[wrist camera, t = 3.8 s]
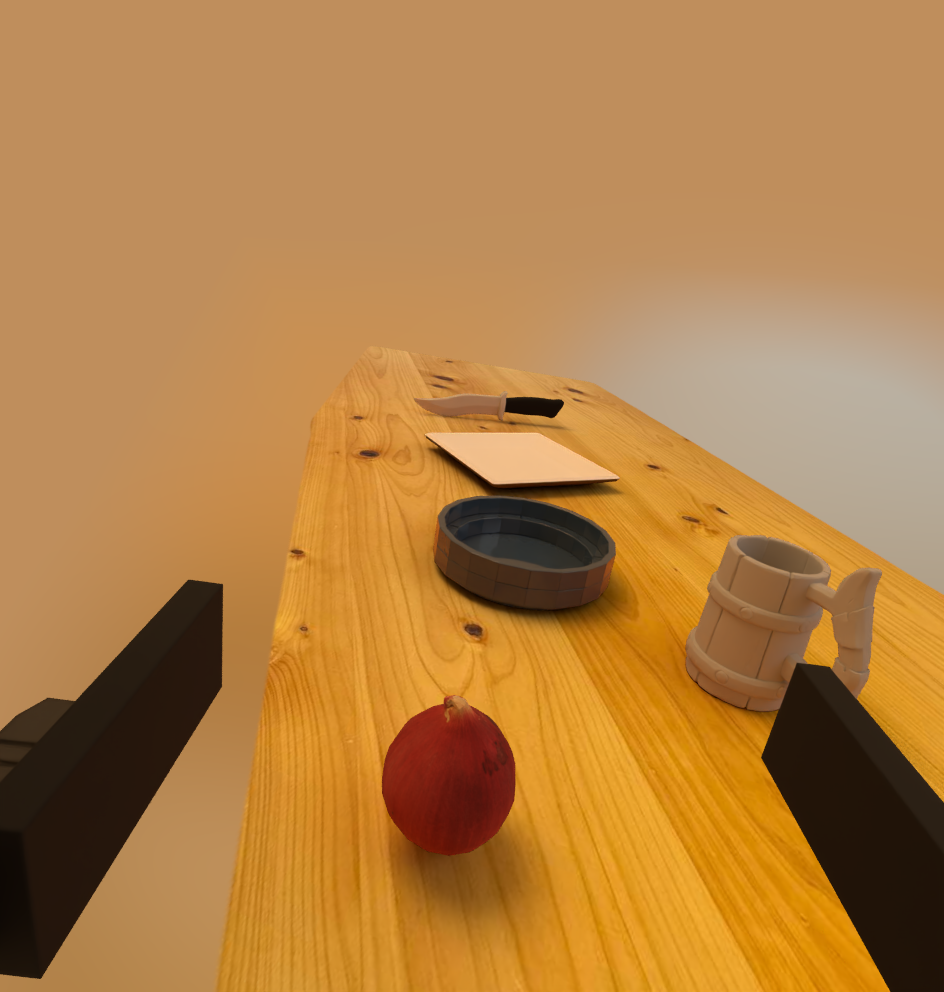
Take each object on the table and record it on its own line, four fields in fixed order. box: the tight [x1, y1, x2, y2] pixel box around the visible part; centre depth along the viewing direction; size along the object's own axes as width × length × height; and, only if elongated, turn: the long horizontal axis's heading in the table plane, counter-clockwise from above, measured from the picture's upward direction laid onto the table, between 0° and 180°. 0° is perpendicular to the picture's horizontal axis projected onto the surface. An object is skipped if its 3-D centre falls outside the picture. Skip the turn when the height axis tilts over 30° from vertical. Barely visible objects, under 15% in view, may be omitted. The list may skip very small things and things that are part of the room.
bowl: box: [433, 496, 616, 610], centre depth 56 cm, size 15×15×4 cm
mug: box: [686, 535, 882, 711], centre depth 42 cm, size 8×12×12 cm, turn 22°
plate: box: [425, 433, 620, 488], centre depth 84 cm, size 19×19×2 cm
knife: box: [414, 391, 564, 420], centre depth 105 cm, size 25×2×5 cm, turn 101°
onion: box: [382, 695, 515, 856], centre depth 28 cm, size 6×6×8 cm
